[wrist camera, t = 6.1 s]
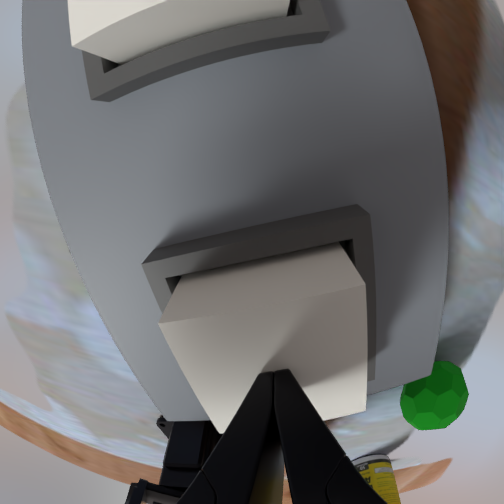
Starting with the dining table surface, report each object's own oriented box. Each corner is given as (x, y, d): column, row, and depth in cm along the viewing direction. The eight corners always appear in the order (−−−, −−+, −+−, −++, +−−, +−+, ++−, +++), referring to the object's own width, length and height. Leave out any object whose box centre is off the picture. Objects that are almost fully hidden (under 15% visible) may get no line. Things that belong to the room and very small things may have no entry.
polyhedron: (438, 388, 18) (459, 432, 14) (385, 400, 18) (402, 450, 14) (459, 341, 16) (490, 386, 12) (402, 353, 16) (429, 407, 12)
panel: (404, 329, 16) (439, 391, 11) (181, 372, 17) (162, 438, 12) (319, -78, 7) (337, -133, 2) (66, -5, 8) (9, -31, 4)
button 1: (347, 353, 11) (365, 410, 8) (226, 374, 11) (219, 433, 9) (336, 237, 9) (365, 284, 6) (184, 270, 10) (157, 323, 7)
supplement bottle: (364, 450, 21) (382, 536, 12) (398, 453, 22) (418, 527, 13) (328, 473, 23) (337, 550, 14) (364, 475, 24) (376, 544, 15)
